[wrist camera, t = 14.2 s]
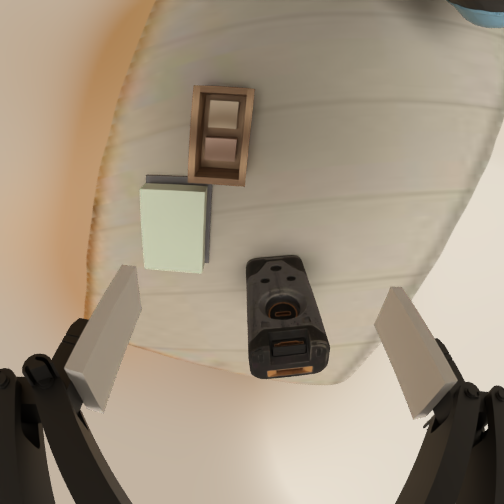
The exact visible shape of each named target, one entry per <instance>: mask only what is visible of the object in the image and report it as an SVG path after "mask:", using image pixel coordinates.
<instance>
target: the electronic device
mask: <svg viewBox="0 0 504 504" xmlns="http://www.w3.org/2000/svg"><path fill="white" fill-rule="evenodd" d="M246 283H247V322H248V355H249V365H250V371H251V374H252V375H253V376H255V377H257V378H260V379H272V378H282V377H291V376H300V375H308V374H315V373H318V372H320V371H322V370H323V369H324V368H325V367H326V366H327V364H328V359H329V352H330V345H329V342H328V339H327V336H326V332H325V329H324V326H323V323H322V319H321V316H320V313H319V310H318V307H317V304H316V301H315V298H314V295H313V292H312V289H311V286H310V284H309V281H308V278H307V275H306V272H305V269H304V266H303V263H302V261H301V259H300V258H299V257H297V256H284V257H272V258H261V259H253V260H251V261H249V262H248V264H247V266H246Z"/></svg>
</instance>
